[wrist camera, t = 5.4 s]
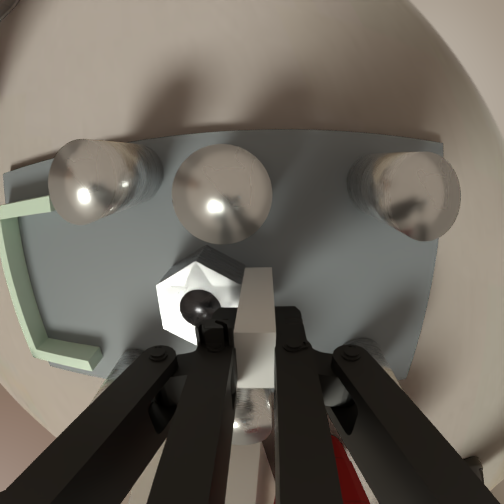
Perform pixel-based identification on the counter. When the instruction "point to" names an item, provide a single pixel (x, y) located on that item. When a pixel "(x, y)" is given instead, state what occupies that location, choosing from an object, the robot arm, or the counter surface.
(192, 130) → the counter surface
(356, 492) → the plastic cup
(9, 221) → the parts pocket
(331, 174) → the board
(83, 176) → the spacers
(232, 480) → the milk
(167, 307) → the nut
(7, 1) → the can
